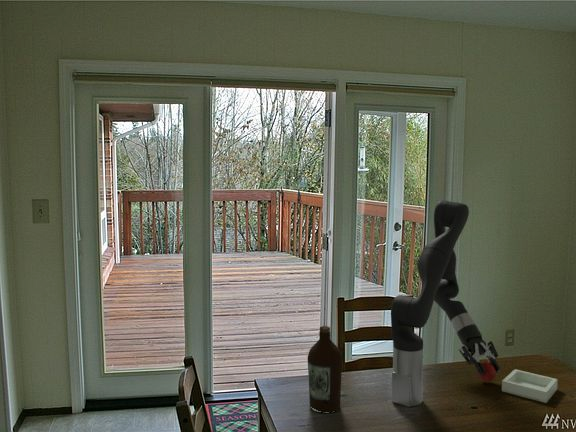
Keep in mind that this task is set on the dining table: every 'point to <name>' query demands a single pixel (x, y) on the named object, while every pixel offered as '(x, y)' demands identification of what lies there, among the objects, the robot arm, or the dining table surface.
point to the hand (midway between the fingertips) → (490, 372)
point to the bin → (529, 385)
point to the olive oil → (325, 373)
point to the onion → (488, 372)
